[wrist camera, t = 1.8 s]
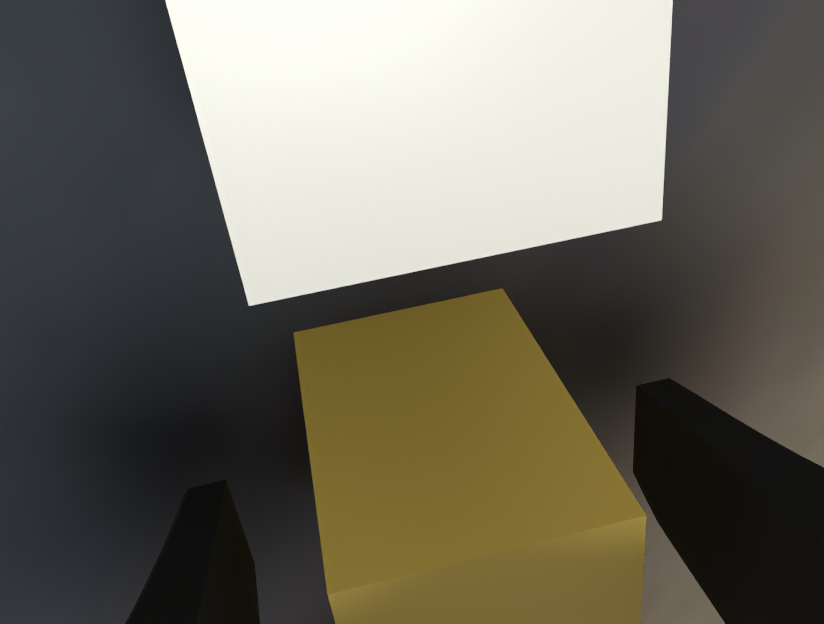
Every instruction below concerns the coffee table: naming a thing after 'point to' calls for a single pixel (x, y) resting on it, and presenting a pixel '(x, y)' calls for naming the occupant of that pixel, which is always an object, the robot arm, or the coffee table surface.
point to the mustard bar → (461, 475)
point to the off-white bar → (423, 128)
